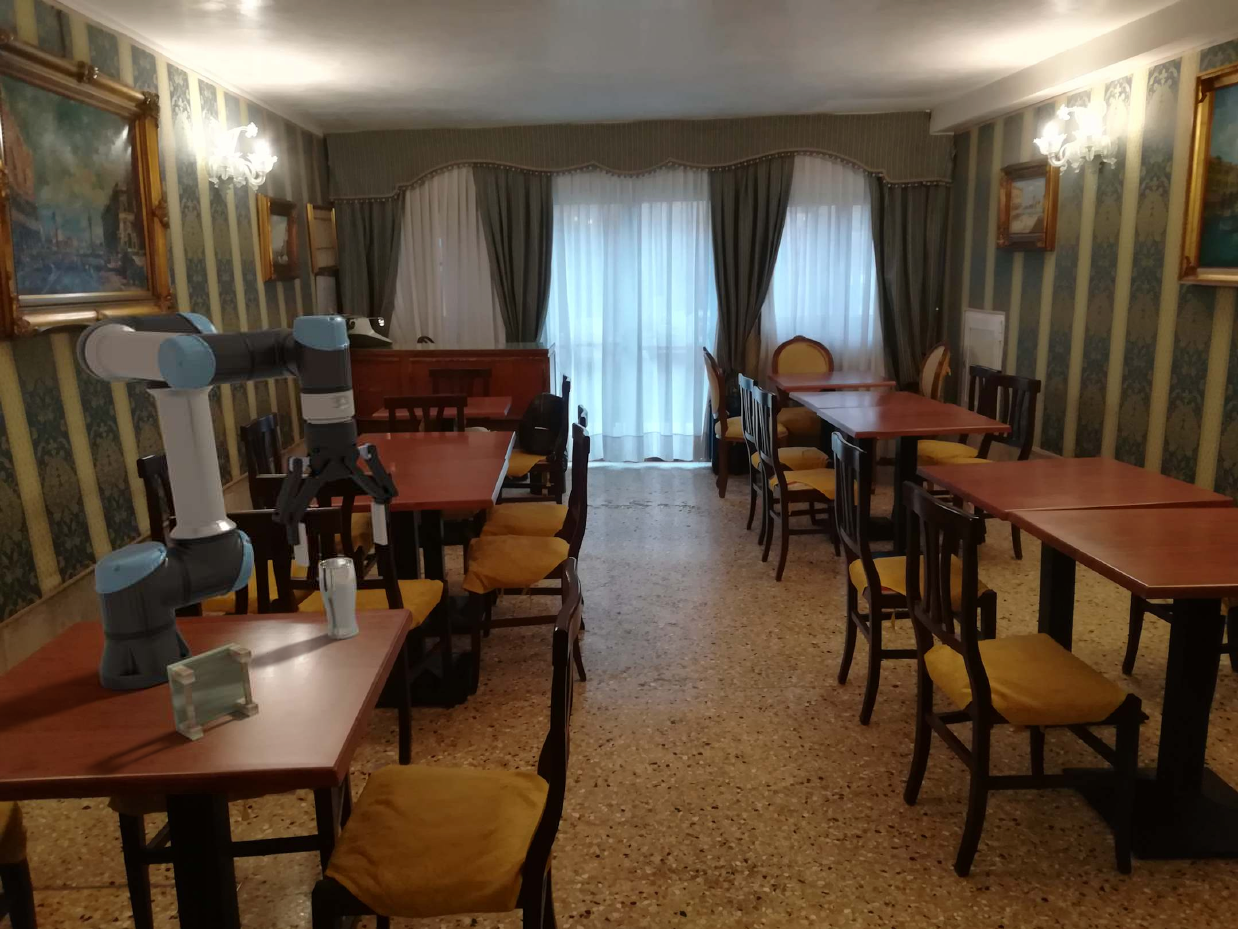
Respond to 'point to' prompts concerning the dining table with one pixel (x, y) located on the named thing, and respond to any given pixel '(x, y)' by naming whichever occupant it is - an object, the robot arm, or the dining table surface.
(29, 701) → the dining table surface
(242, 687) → the footstool
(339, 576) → the beer glass
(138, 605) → the robot arm
